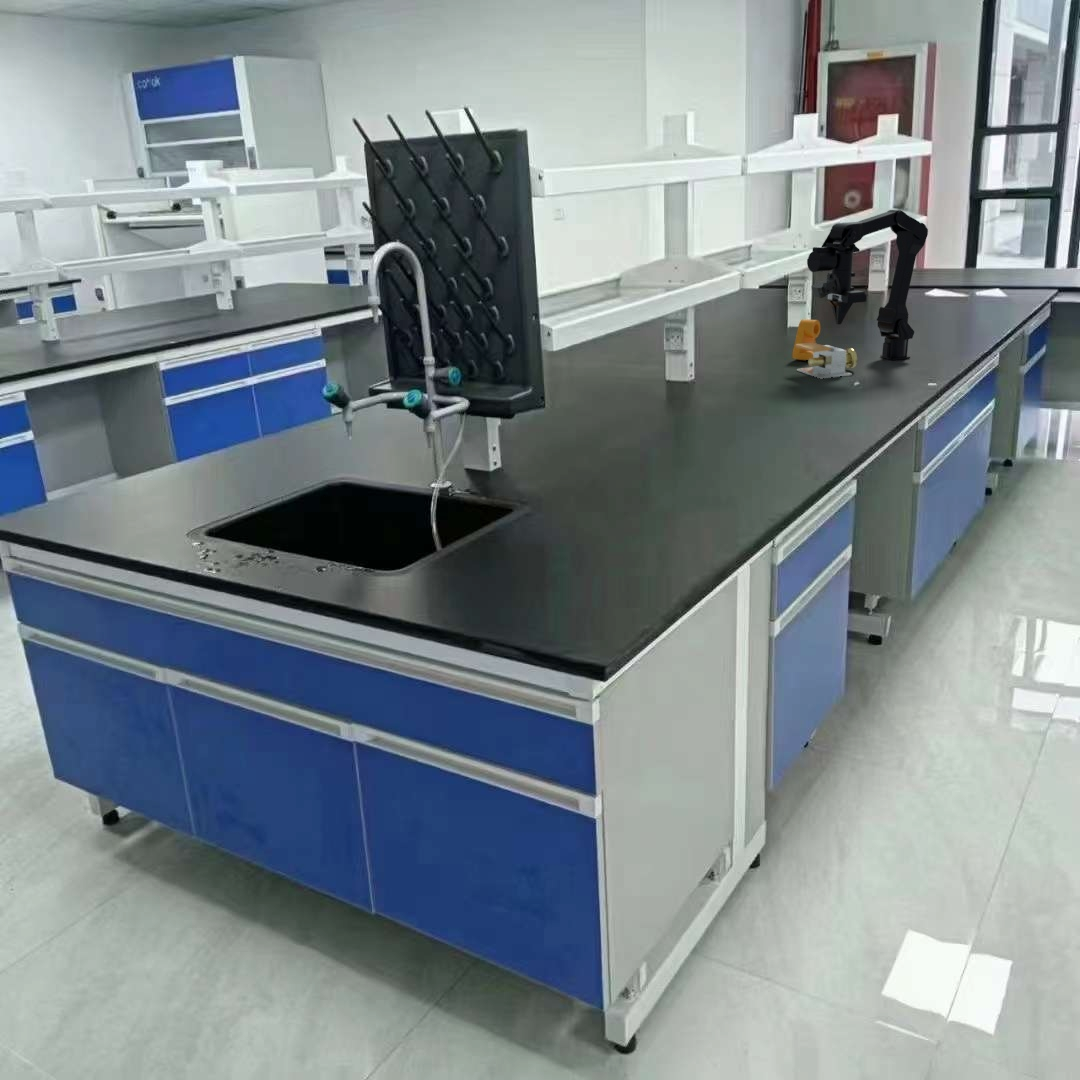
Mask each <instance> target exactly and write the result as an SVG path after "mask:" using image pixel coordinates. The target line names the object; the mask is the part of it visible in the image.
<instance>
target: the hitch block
mask: <svg viewBox="0 0 1080 1080" xmlns="http://www.w3.org/2000/svg"><path fill="white" fill-rule="evenodd" d="M823 345H824V344H823ZM824 346H827V347H830V348H833V349H834V351H833V352H831V351H819V352H813V358H817V357H826V364H825V365H822V366H813V367H810V366H808V367H801V368H797V369H796V371H797V372H800V373H803V374H805V375H808V376H810V377H813V376H814V378H816V377H817V379H819V378H820V379H819V380H823V378H824V379H831V377H833V378H840V376H842V377H850V376H852V375H853V374H852V372H849V371H846V366H845V365H846V349H843V348H839V347H836V346H832V345H829V344H825V345H824Z"/></svg>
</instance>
